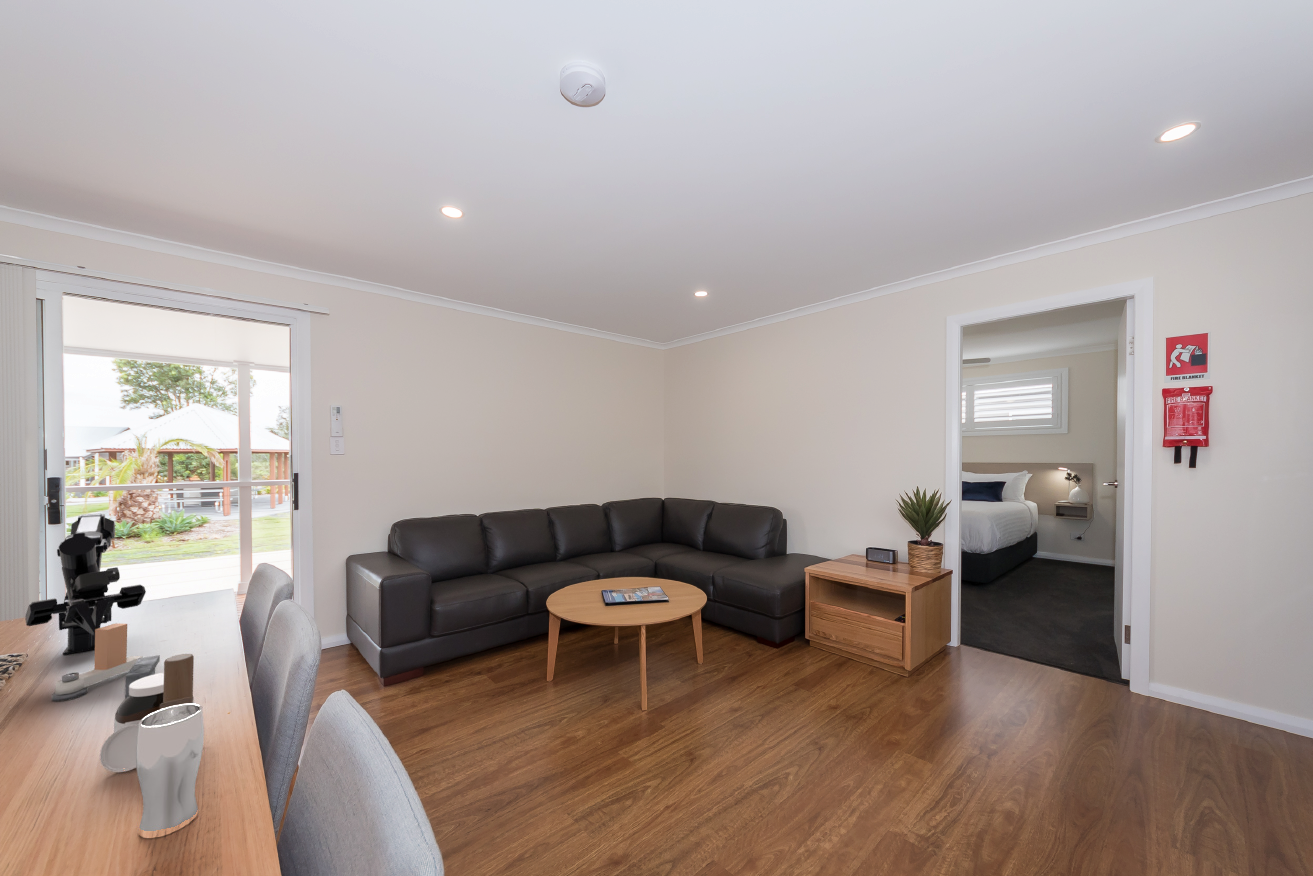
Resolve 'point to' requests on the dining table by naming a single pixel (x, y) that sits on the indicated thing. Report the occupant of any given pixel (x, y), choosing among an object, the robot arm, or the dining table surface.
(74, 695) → the pintle plate
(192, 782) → the beer glass
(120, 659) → the link
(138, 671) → the dark grey block
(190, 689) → the wooden block
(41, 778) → the dining table surface
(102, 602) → the robot arm
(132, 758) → the spread jar
